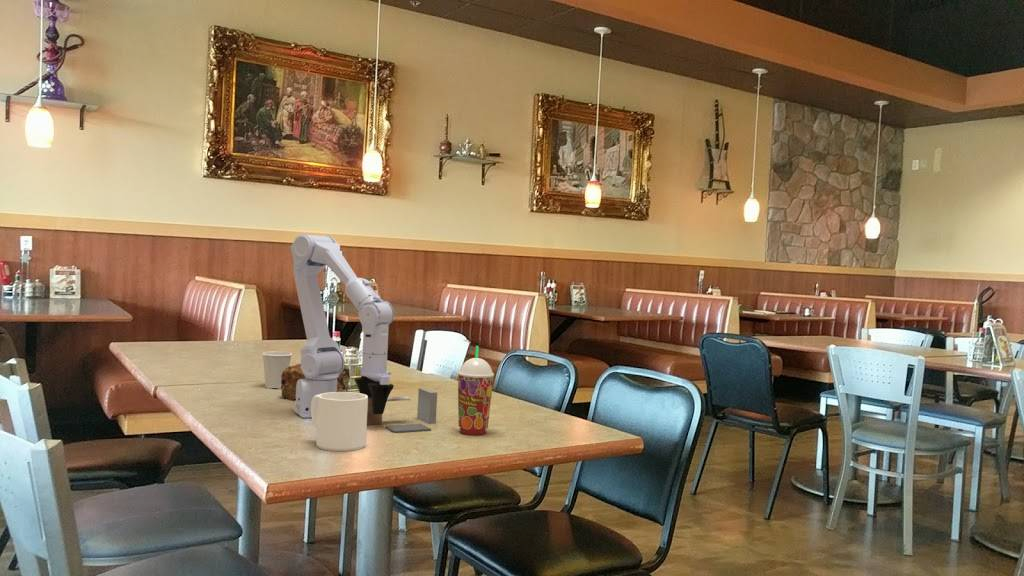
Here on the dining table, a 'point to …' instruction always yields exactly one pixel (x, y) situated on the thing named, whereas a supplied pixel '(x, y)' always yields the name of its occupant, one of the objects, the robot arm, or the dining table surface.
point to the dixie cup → (275, 367)
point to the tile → (427, 405)
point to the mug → (340, 420)
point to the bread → (295, 373)
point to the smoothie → (474, 395)
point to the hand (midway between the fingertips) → (372, 410)
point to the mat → (407, 428)
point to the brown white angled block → (377, 418)
